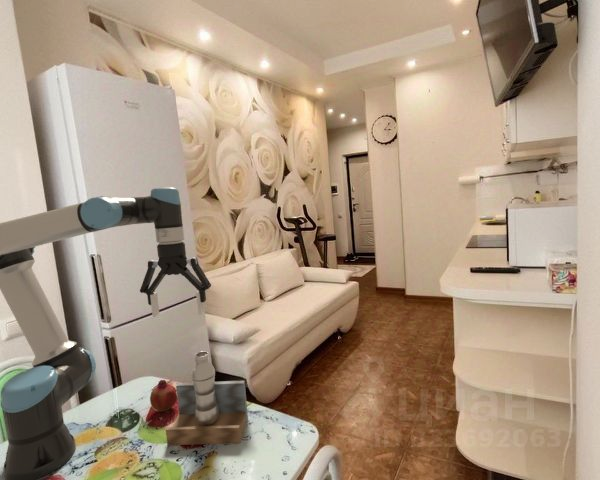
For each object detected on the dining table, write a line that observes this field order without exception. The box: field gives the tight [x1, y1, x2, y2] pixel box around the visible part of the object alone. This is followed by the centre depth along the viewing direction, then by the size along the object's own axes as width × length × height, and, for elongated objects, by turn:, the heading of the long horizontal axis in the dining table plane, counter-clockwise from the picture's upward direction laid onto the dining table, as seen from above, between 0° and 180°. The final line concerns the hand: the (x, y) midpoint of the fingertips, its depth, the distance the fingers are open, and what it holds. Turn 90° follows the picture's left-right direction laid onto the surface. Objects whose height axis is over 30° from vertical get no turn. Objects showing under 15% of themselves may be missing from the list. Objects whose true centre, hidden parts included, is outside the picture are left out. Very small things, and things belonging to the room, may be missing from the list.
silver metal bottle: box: [190, 351, 219, 426], centre depth 98 cm, size 6×7×20 cm
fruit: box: [149, 379, 178, 412], centre depth 111 cm, size 8×8×10 cm
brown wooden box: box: [165, 380, 249, 446], centre depth 98 cm, size 20×10×12 cm, turn 87°
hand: (178, 314), depth 102 cm, fingers open, 13 cm apart
